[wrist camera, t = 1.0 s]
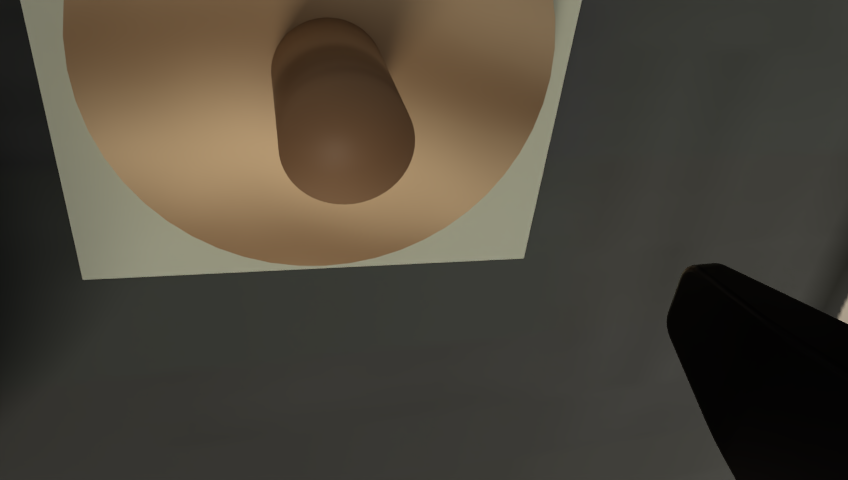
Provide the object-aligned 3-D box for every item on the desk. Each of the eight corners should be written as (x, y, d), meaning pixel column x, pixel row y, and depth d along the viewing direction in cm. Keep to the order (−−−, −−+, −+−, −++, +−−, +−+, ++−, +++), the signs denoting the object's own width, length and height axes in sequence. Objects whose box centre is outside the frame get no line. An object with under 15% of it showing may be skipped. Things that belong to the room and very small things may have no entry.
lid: (501, 235, 23) (559, 341, 19) (114, 251, 20) (81, 380, 16) (583, -186, 16) (700, -164, 12) (20, -248, 13) (-78, -248, 9)
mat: (518, 248, 24) (523, 258, 24) (86, 267, 21) (82, 279, 20) (622, -231, 16) (633, -231, 16) (-41, -319, 13) (-53, -322, 13)
